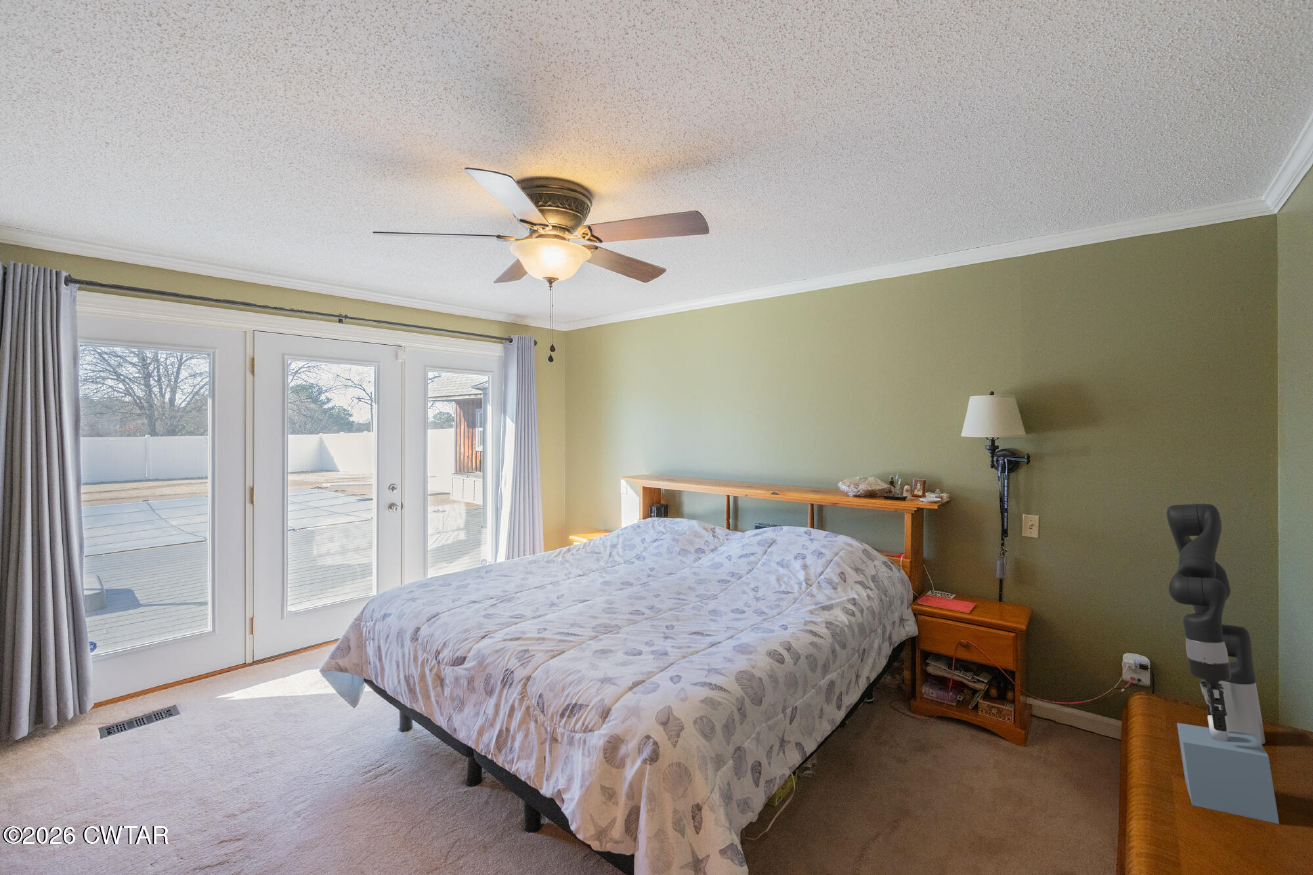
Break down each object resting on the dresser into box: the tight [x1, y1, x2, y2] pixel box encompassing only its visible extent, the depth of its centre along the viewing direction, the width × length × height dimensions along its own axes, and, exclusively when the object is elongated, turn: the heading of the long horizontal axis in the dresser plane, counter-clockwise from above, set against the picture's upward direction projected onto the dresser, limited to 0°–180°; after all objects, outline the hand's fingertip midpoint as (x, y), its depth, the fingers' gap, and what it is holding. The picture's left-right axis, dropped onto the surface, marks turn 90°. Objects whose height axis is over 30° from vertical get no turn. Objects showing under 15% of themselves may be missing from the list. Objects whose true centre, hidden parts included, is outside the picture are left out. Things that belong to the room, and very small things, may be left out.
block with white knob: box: [1176, 714, 1280, 825], centre depth 138 cm, size 13×15×20 cm
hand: (1217, 723), depth 139 cm, fingers open, 8 cm apart
